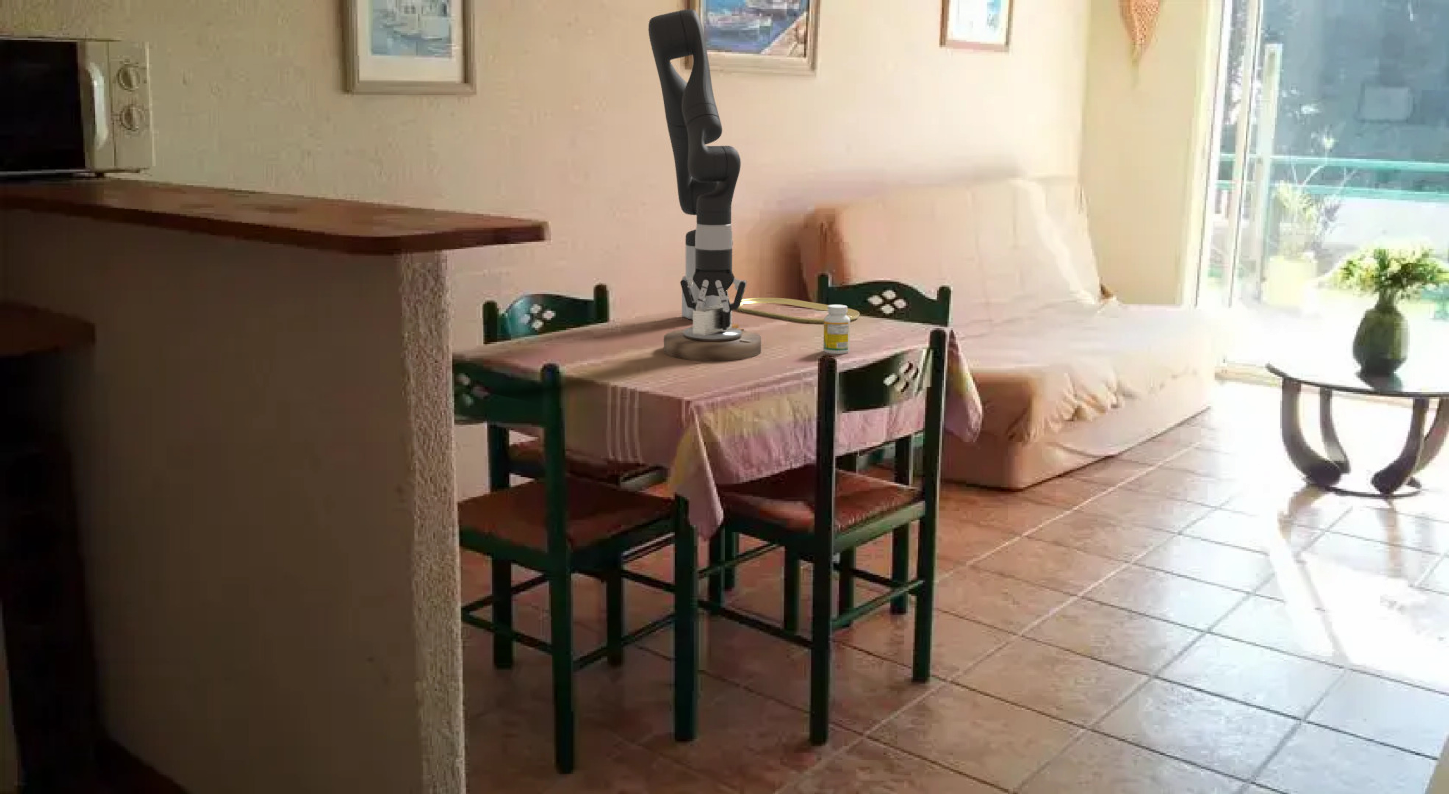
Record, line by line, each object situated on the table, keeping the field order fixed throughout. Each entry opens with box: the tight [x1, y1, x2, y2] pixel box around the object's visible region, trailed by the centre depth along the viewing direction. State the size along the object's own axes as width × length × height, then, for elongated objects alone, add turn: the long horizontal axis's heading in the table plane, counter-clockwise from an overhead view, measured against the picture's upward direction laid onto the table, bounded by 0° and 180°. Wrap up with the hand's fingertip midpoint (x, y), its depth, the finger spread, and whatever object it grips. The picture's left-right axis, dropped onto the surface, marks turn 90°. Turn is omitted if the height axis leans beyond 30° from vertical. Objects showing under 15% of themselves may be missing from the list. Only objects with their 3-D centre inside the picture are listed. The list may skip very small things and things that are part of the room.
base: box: [663, 327, 762, 362], centre depth 266 cm, size 20×20×3 cm
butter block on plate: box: [683, 304, 742, 341], centre depth 266 cm, size 15×12×6 cm
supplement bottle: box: [822, 304, 851, 355], centre depth 265 cm, size 5×5×10 cm
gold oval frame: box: [732, 297, 860, 324], centre depth 313 cm, size 19×35×2 cm, turn 44°
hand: (713, 328), depth 265 cm, fingers closed on butter block on plate, 4 cm apart
